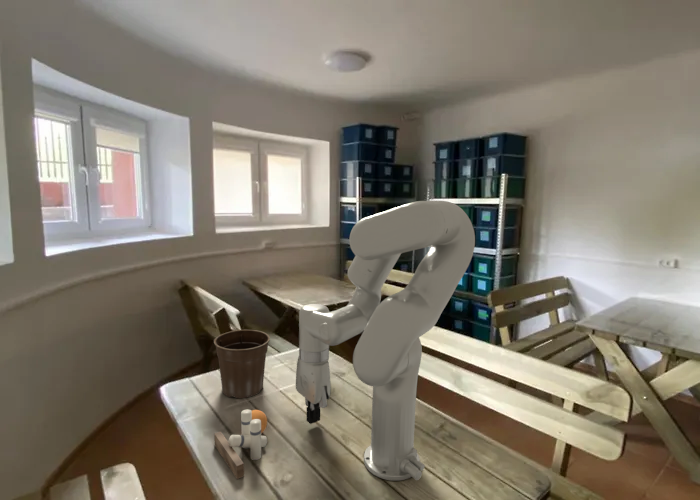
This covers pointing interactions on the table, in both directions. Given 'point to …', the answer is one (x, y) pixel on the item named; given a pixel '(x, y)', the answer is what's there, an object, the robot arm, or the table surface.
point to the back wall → (229, 455)
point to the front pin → (244, 441)
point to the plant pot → (242, 361)
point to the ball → (260, 418)
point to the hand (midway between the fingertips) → (313, 420)
